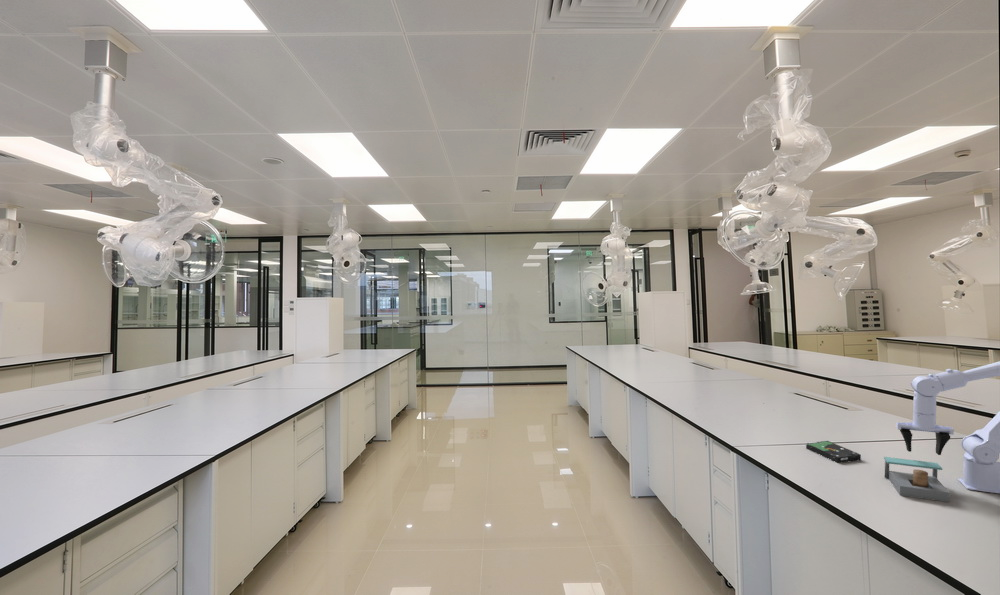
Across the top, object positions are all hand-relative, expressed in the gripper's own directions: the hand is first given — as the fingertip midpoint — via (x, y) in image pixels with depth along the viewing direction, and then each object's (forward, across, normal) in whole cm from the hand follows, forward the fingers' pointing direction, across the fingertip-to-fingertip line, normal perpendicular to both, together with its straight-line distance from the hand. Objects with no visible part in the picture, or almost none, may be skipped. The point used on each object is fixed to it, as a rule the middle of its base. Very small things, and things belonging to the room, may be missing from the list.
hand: (923, 452), depth 161 cm
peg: (+9, +4, +12) cm, 16 cm away
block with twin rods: (+9, +4, +4) cm, 11 cm away
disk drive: (+10, +23, -14) cm, 29 cm away
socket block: (+9, +4, +10) cm, 14 cm away
